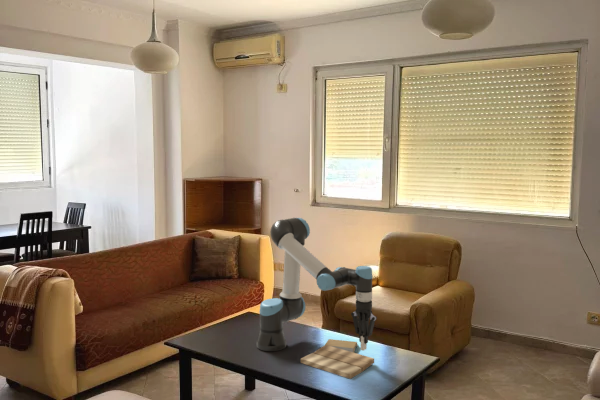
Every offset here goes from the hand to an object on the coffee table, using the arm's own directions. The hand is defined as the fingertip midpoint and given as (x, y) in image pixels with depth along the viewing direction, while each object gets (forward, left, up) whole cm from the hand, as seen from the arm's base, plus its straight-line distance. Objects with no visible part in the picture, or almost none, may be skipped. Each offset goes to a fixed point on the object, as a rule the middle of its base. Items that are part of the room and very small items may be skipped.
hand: (363, 349), depth 245 cm
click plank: (-9, -3, -6) cm, 11 cm away
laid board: (-9, -14, -7) cm, 18 cm away
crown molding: (-19, +9, -8) cm, 22 cm away
